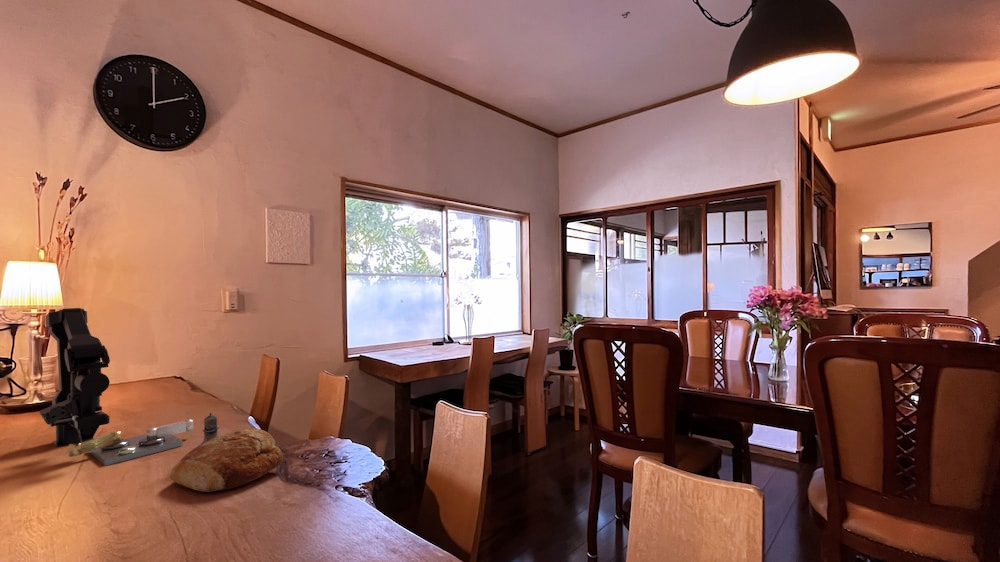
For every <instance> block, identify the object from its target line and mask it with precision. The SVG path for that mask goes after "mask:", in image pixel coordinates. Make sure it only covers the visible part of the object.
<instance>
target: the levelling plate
mask: <svg viewBox="0 0 1000 562" xmlns="http://www.w3.org/2000/svg"><path fill="white" fill-rule="evenodd" d="M144 438H147V433H144V434H140V435H135V436H132V437H131V436H130V437H126V439H128V440H129V442H130V443H129V444H128V445H126V446H123V447H120V448H116V449H109V450H103V449H101V448H99V449H96V450H92V451H89V453H90V454H91V455H92V456H93V457H94V458H95V459H96V460H98V461H99V462H100V463H101V464H102V465H103V466H105V467H106V466H110V465H111V466H112V465H116V464H119V463H122V462H126V461H130V460H133V459H134V460H135V459H136V458H141V457H146V456H149V455H152V454H156V453H160V452H165V451H168V450H172V449H175V448H179V447H183V446H184V444H183V440H182V439H181V438H179V437H177V436H175V435H174V434H173V435H169V436H165V440H164V441H163V442H160V443H157V444H153V445H146V446H141V445H139V441H140V440H141V439H144Z"/></svg>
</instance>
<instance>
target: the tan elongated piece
mask: <svg viewBox="0 0 1000 562" xmlns="http://www.w3.org/2000/svg"><path fill="white" fill-rule="evenodd" d="M129 443H130V442H129V440H128V439H127V438H124V439H122V431H121V430H115V431H112V432H109V433H105V434H102V435H98V436H95V437H94V436H93V438H91V439H87V440H83V441H80V442H75V443H71V444H69V445H68V457H77V456H80V455H83V454H87V453H90V451H92V450H96V449H99V448H101V449H103V450H109V449H116V448H120V447H123V446H126V445H128V444H129Z"/></svg>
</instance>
